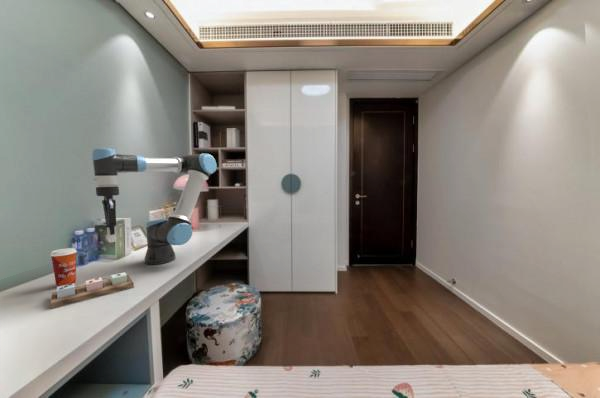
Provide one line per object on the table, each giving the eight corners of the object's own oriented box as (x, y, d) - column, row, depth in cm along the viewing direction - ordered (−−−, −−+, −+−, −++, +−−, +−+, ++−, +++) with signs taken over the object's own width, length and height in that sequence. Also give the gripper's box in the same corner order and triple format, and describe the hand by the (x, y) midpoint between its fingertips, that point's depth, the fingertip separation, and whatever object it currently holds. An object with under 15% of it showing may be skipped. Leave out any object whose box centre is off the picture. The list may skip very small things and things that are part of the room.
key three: (75, 291, 94) (74, 282, 94) (75, 295, 91) (74, 286, 91) (57, 295, 91) (56, 286, 91) (57, 299, 88) (56, 290, 87)
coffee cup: (62, 289, 100) (59, 253, 99) (47, 287, 101) (44, 252, 100) (84, 281, 108) (82, 247, 107) (69, 279, 110) (67, 247, 109)
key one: (125, 279, 105) (124, 271, 105) (127, 282, 102) (126, 274, 102) (111, 282, 102) (110, 274, 102) (113, 286, 99) (112, 277, 98)
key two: (101, 284, 100) (101, 276, 100) (102, 288, 96) (102, 279, 96) (86, 288, 97) (85, 279, 96) (86, 292, 93) (86, 283, 93)
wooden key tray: (128, 279, 109) (128, 275, 109) (133, 287, 101) (133, 282, 101) (52, 297, 93) (51, 292, 93) (51, 308, 84) (50, 303, 84)
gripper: (93, 186, 103) (98, 241, 105) (98, 186, 94) (103, 246, 96) (115, 185, 108) (120, 237, 111) (121, 185, 99) (126, 242, 102)
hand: (112, 241), depth 103 cm, fingers closed
